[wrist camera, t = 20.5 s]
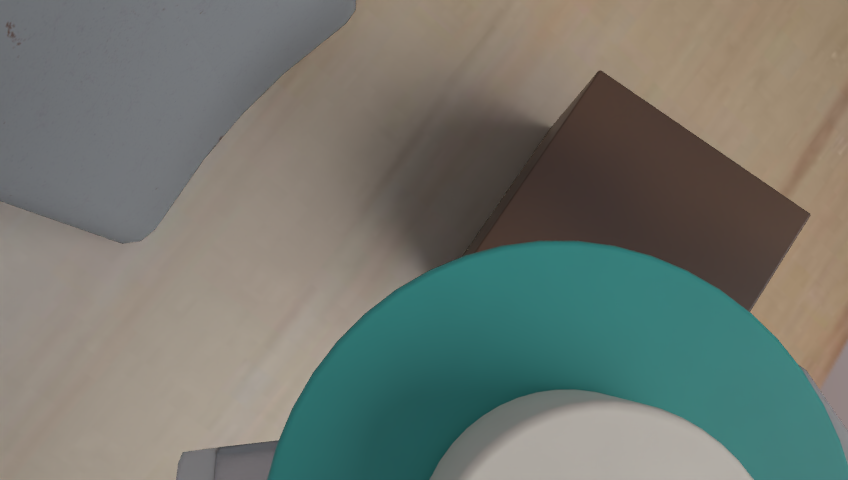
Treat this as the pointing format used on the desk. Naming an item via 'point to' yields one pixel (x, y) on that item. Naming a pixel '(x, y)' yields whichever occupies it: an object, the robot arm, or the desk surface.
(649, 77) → the desk surface
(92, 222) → the flask
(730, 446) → the detergent bottle
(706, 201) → the stand
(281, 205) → the desk surface
